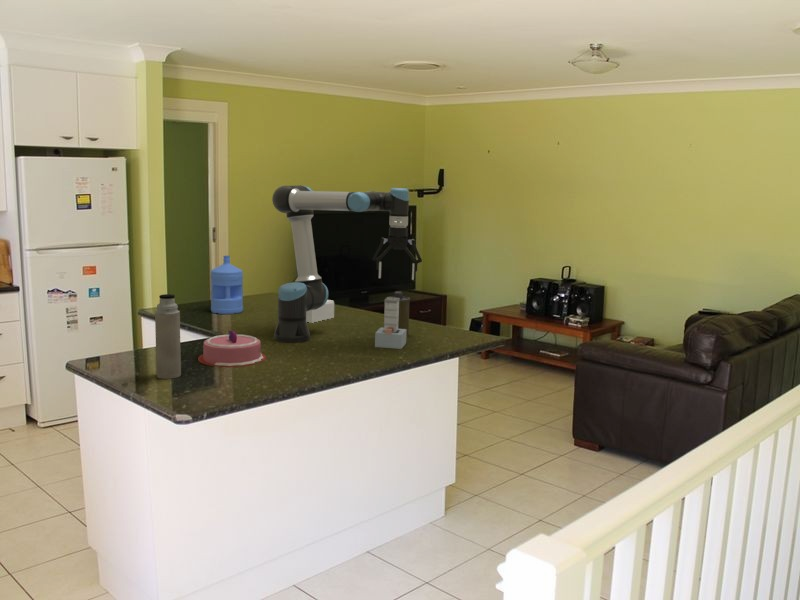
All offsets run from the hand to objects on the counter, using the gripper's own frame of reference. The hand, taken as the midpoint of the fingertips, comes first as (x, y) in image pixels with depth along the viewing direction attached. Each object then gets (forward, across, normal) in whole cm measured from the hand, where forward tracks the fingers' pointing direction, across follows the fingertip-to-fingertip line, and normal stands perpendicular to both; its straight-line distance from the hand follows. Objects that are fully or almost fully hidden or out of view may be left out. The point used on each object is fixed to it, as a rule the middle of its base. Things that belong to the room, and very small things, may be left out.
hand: (396, 278), depth 299 cm
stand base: (+28, -1, -3) cm, 28 cm away
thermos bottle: (+29, -75, -57) cm, 98 cm away
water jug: (+30, -86, +60) cm, 109 cm away
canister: (+28, +1, +17) cm, 33 cm away
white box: (+29, -43, +51) cm, 73 cm away
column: (+27, -1, -3) cm, 27 cm away
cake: (+29, -60, -30) cm, 73 cm away
